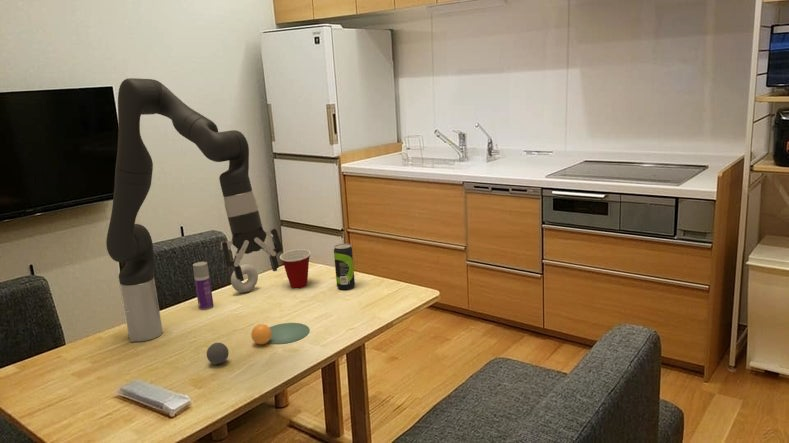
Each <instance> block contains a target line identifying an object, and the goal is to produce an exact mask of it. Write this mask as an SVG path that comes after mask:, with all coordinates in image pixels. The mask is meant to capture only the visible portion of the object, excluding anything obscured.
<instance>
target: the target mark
mask: <svg viewBox="0 0 789 443" xmlns="http://www.w3.org/2000/svg"><path fill="white" fill-rule="evenodd" d="M268 327H269V328H270V330H271V333H272V335H271V339H270V340H269V341H268V342H267V343H266V344H272V345H283V344H290V343H294V342H297V341H300V340H302V339H304V338H305V337H306V336H307V337H308V335H309V333H310V328H309V326H308V325H306V324H304V323H299V322H285V323H280V324H274V325H272V326H268Z"/></svg>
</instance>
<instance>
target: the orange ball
mask: <svg viewBox="0 0 789 443" xmlns="http://www.w3.org/2000/svg"><path fill="white" fill-rule="evenodd" d="M269 327H270V326H268V325H266V324H258V325H255V326H254V327H253V329H252V330H251V334H250V336H251V340H252V341H253V342H254V343H256V344H257V345H265V344H268V343H267V342H268V341H269V340H270V339H271V335H272V333H271V330H270V328H269Z"/></svg>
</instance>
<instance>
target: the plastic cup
mask: <svg viewBox="0 0 789 443" xmlns="http://www.w3.org/2000/svg"><path fill="white" fill-rule="evenodd" d="M311 254H312V253H311V251H310V250H309V249H304V248H297V249H290V250H288V251H285V252H283V253H281V254H280V256H279V259H280V261H281V262H282V265H283V267H284V271H285V272H286V277H287V279H288V284H289V286H290V288H291V287H292V288H291V289H294V288H299V289H302V287H303V288H306V287H307V286H308V278H309V277H308V276H309V264H310V257H311ZM306 285H307V286H306ZM305 286H306V287H305Z"/></svg>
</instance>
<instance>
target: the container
mask: <svg viewBox="0 0 789 443" xmlns="http://www.w3.org/2000/svg"><path fill="white" fill-rule="evenodd" d="M192 268H193V276H194V277H193V278H194V279H193V280H194V283H195V284H194V286H195V290H196V291H195V292H196V297H197V298H196V299H197V305H198V310H201V311H207V310H210V309H212V308H214V299H213V293H212V292H213V291H212V284H211V277H210V272H209V266H208V262H207V261H198V262H195V263H193V264H192Z"/></svg>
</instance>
